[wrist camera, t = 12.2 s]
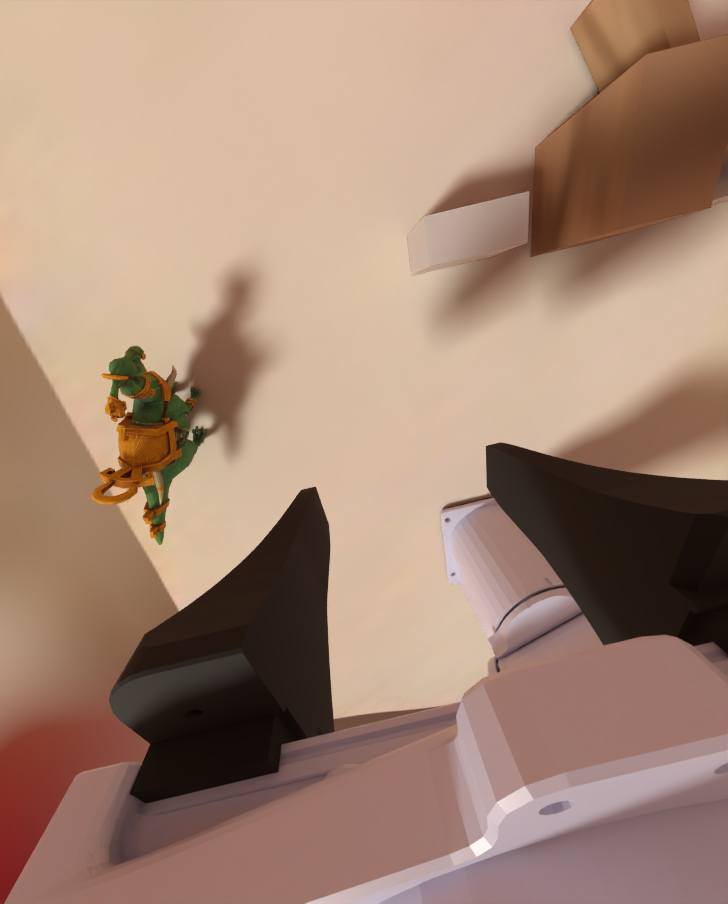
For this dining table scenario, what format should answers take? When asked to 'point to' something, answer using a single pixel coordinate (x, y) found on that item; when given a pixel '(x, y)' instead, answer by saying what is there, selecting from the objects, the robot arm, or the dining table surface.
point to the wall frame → (485, 230)
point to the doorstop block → (635, 150)
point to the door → (630, 33)
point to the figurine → (148, 437)
